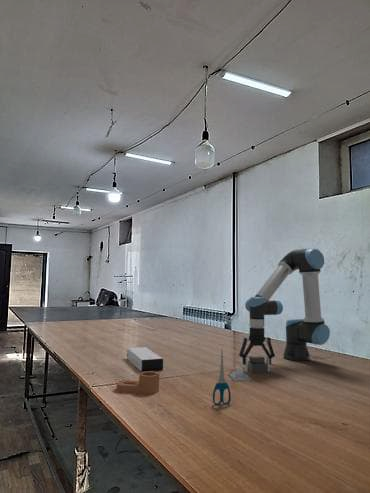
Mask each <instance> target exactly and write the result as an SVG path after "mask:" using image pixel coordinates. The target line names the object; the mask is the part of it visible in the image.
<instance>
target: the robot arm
mask: <svg viewBox="0 0 370 493" xmlns="http://www.w3.org/2000/svg"><path fill="white" fill-rule="evenodd" d="M324 265H325V257H324V255H323V252H321V251H320V250H319V249H318V248H301V249H294V250H292V251H290V252H288V253H286V255H284V256H283V258H282V259H281V260H280V261H279V262H278V264H277V268H276V269H275V270H274V271H273V272H272V274H271V275H270V276H269V278H268V279H267V280H266V281H265V282H264V284H263V285H262V287H260V289H259V290H258V292H257V293H256V294H255V295H254V296H251V297H250V298H249V299H247V300H246V301H245V304H244V305H245V309H246V310H247V312H248V313H249V336H248V337H245V336H243V339H242V344H241V347H240V351H239V353H238V355H239V357H240V358H242V365H243V366H244V368H243V370H244V371H243V372H245V373H248V358H247V356H248V355H249V353H250V352H251V350H252V348H253V347H257V346H258V347H260V346H261V348H262V350H263V351H264V352H265V355H266V356H267V357H265V363H266V372H267V373H269V372H270V366H271V365H272V359H273V358H275V357H276V355H275V352H274V349H273V346H272V342H271V340H272V339H271V338H270V337H268V336H267V337H265V328H264V327H265V316H277V315H280V314H282V313H283V310H284V306H283V303H282V302H281V301H279V300H275V299H274V300H270V299H271V298H272V297H273V296H274V294H275V293H276V292H277V290H278V289H279V288H280V287H281V285H283V284H282V283H283V282H284V281H285V280H286V279H287V277H288V276H289V275H291V274H293V273H294V272H295V271H296V270H298V273H299V274H300V275H301V276H302V287H303V288H302V290H303V291H302V292H303V302H304V305H303V306H304V316H305V317H304V318H302V319H301V318H300V319H297V318H296V319H288V320H286V323H285V338H286V339H285V342H286V343H285V344H286V345H285V347H284V351H283V354H282V356H283V359H285V360H289V361H296V362H297V361H299V362H307V361H309V360H311V355H310V353H309V352H310V351H309V349H308V346H307V344H310V345H311V344H313V345H314V346H317V345H318V346H322V345H324V344H326V343H327V342H328V340H329V338H330V335H331V332H330V331H331V330H330V327H329V326H328V325H327V324H325V319H324V318H322V311H321V310H322V309H321V296H320V284H319V274H320V273H321V269H322V268H323V267H324ZM248 342H249V344H248V346H247V343H248ZM264 342H266V343H267V346H266V345H265V344H264ZM246 347H247V348H246ZM267 347H268V349H267Z"/></svg>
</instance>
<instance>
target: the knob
mask: <svg viewBox="0 0 370 493" xmlns="http://www.w3.org/2000/svg"><path fill="white" fill-rule="evenodd" d="M247 371H249V372H250V373H251V374H267V370H266V357H265V356H263V355H251V356H250V355H249V356H248V360H247Z"/></svg>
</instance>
